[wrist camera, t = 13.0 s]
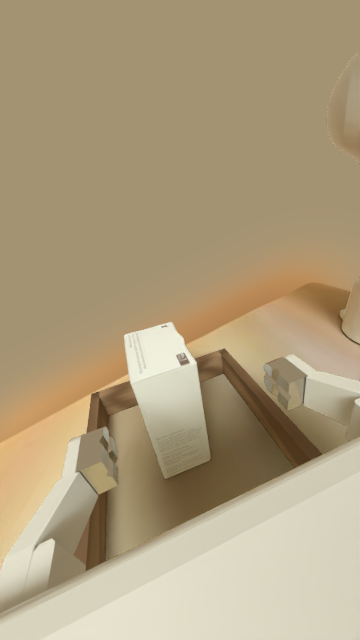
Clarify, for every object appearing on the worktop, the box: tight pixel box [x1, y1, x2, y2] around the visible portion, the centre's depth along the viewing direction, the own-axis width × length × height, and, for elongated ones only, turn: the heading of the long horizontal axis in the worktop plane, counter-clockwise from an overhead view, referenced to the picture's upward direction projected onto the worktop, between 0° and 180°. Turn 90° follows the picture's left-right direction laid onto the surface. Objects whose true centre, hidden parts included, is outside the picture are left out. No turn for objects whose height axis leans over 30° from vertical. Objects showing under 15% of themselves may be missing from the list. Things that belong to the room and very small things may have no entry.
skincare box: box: [124, 322, 211, 479], centre depth 24 cm, size 8×6×15 cm
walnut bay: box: [74, 349, 322, 571], centre depth 23 cm, size 22×26×4 cm
